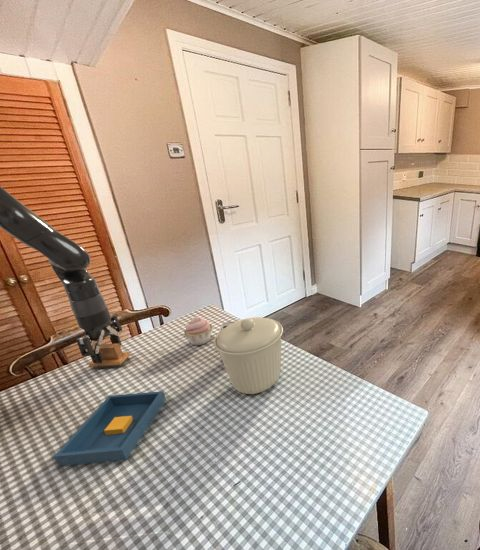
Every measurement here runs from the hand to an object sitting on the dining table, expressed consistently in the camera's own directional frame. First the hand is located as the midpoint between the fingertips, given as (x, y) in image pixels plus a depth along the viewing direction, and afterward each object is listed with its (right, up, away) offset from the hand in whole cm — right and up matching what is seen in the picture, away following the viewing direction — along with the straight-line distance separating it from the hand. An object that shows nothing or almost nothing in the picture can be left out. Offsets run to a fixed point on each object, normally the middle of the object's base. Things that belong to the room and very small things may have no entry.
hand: (108, 354), depth 97 cm
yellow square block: (+22, -12, -22) cm, 33 cm away
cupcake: (+22, +1, +13) cm, 26 cm away
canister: (+50, -7, -6) cm, 51 cm away
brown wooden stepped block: (0, -3, +2) cm, 4 cm away
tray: (+22, -13, -22) cm, 34 cm away
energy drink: (+39, -2, +5) cm, 39 cm away
